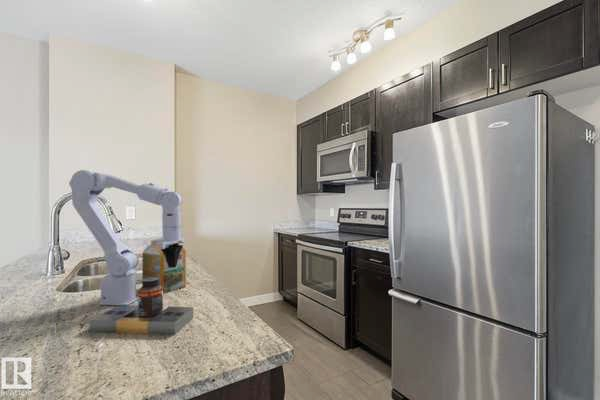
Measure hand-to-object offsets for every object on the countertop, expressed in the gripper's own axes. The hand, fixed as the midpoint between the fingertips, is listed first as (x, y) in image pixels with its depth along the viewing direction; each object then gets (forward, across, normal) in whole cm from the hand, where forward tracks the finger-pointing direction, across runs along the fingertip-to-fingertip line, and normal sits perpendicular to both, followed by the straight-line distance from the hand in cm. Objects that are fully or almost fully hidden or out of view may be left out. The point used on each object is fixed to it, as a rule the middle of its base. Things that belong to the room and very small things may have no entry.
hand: (172, 267), depth 96 cm
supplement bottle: (+11, -18, -4) cm, 21 cm away
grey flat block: (+10, -21, -4) cm, 24 cm away
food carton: (+11, +10, +8) cm, 17 cm away
